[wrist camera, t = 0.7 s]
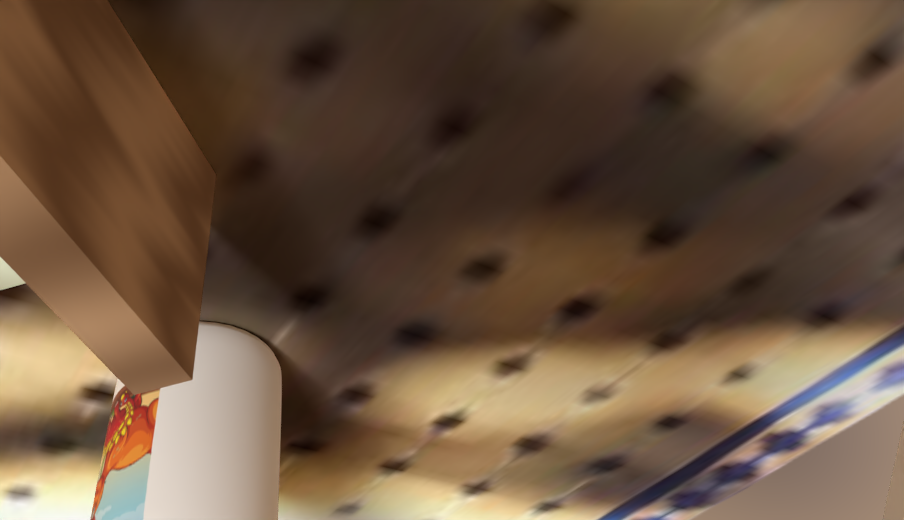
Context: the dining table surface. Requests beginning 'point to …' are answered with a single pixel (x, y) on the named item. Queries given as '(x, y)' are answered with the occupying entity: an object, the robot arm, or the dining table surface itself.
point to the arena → (101, 190)
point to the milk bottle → (198, 438)
